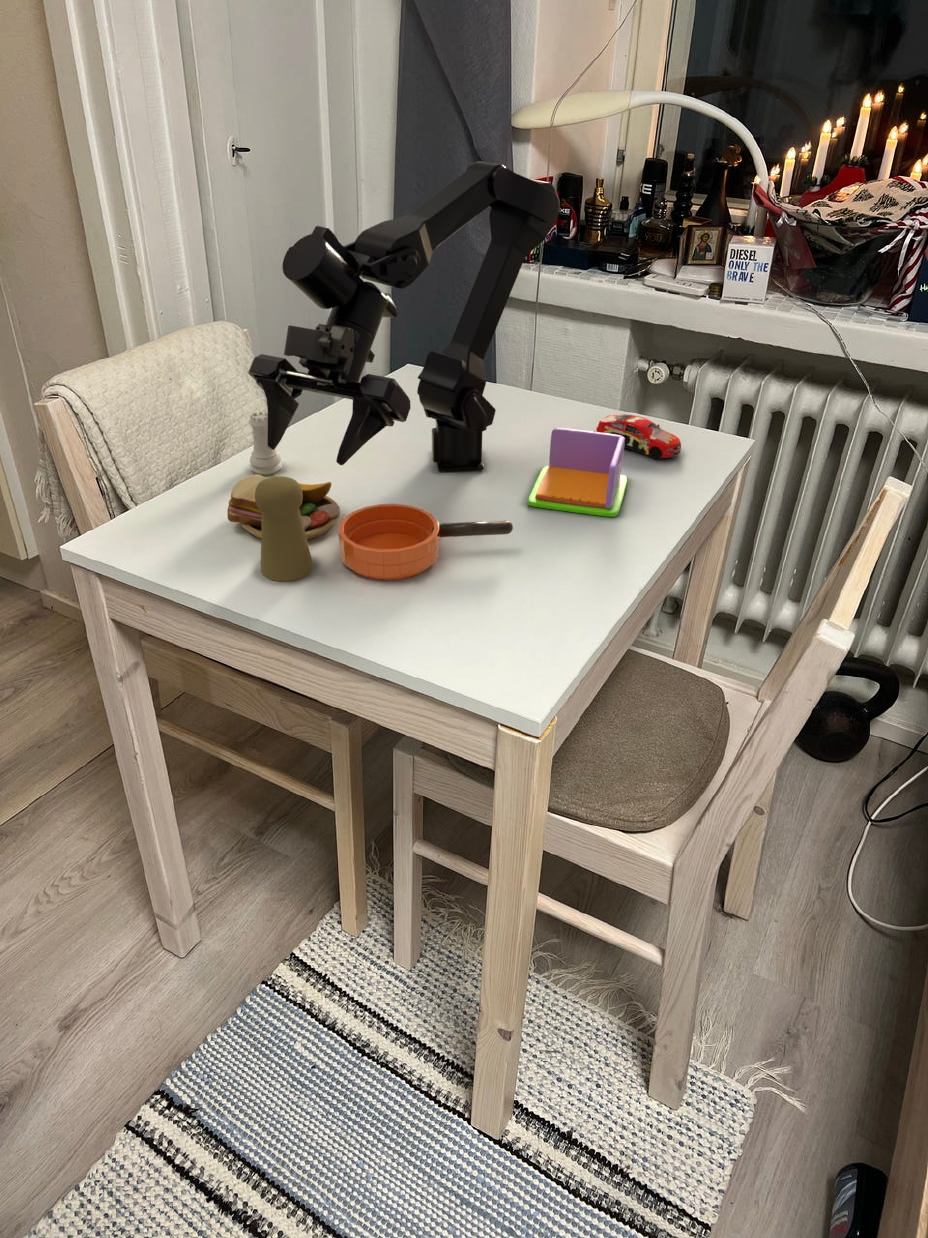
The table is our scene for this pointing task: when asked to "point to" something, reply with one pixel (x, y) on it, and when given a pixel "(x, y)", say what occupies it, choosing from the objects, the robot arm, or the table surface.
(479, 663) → the table surface
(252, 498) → the toy sandwich meal
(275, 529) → the cork
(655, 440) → the race car
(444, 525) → the pan handle
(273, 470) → the rook chess piece
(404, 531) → the pan
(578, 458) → the toy room diorama
